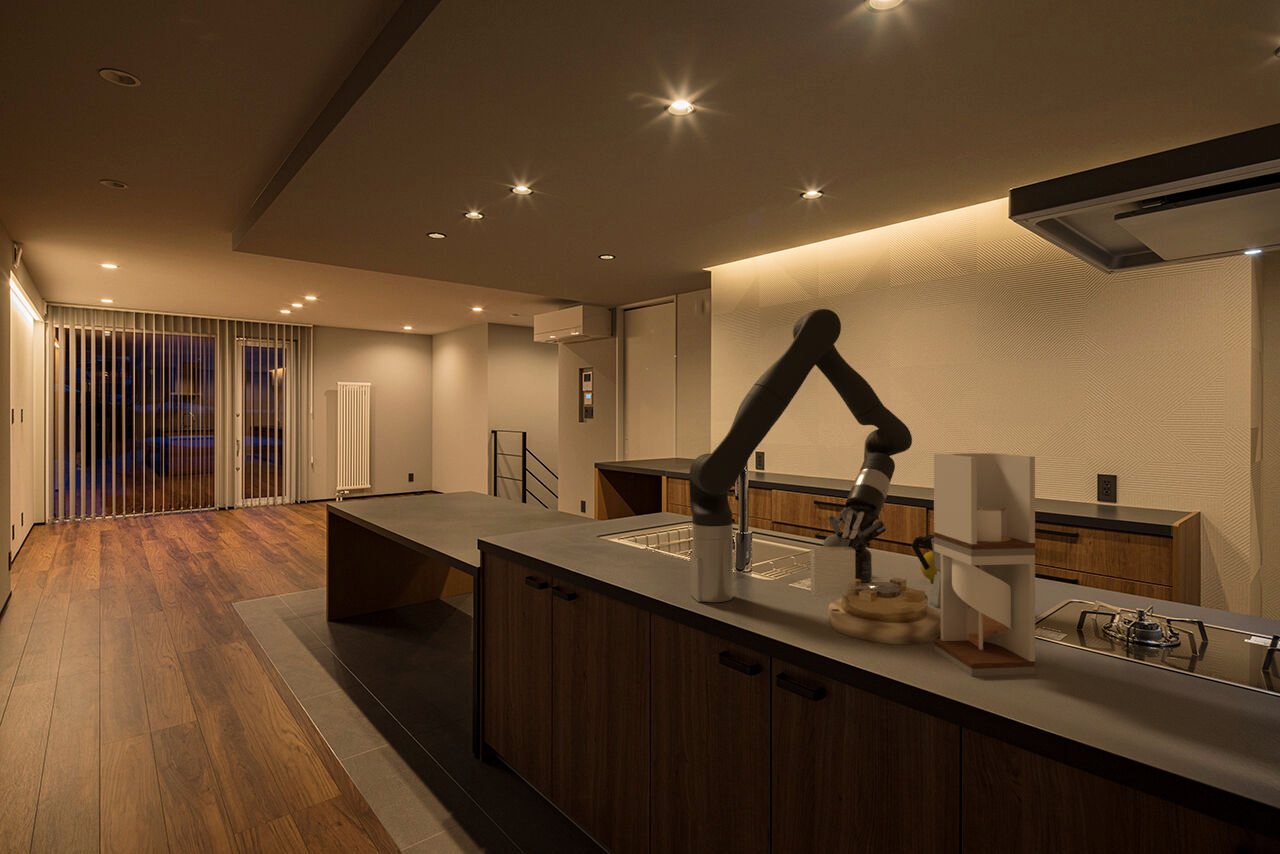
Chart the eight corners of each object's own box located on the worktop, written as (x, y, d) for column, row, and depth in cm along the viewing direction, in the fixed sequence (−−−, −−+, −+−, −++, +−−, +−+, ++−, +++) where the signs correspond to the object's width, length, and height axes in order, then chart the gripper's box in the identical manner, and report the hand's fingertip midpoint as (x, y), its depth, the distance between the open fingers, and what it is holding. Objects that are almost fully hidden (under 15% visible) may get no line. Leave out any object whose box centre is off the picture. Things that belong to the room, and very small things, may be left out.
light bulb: (847, 570, 177) (847, 533, 177) (844, 575, 172) (844, 537, 172) (825, 568, 180) (825, 532, 180) (821, 573, 175) (821, 535, 174)
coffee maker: (989, 606, 143) (988, 524, 142) (976, 615, 136) (976, 529, 136) (919, 594, 153) (918, 517, 153) (904, 602, 146) (904, 522, 146)
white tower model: (934, 651, 116) (933, 453, 115) (991, 649, 117) (991, 452, 116) (971, 676, 105) (971, 457, 104) (1035, 673, 105) (1034, 456, 105)
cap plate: (865, 648, 117) (865, 630, 117) (810, 614, 138) (809, 599, 138) (966, 638, 122) (966, 621, 122) (898, 607, 143) (898, 592, 142)
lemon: (943, 580, 166) (943, 548, 166) (945, 585, 161) (945, 553, 161) (919, 578, 168) (919, 547, 168) (921, 583, 163) (921, 551, 162)
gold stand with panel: (908, 598, 138) (908, 540, 138) (942, 621, 122) (941, 556, 122) (803, 598, 138) (803, 540, 138) (823, 622, 122) (823, 556, 122)
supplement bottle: (868, 584, 163) (867, 536, 163) (875, 591, 156) (875, 541, 156) (839, 583, 163) (839, 535, 163) (845, 590, 157) (845, 540, 157)
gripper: (835, 481, 150) (809, 541, 141) (892, 484, 141) (868, 549, 133) (845, 501, 154) (821, 562, 145) (902, 506, 145) (879, 571, 136)
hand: (843, 556), depth 139 cm, fingers closed
